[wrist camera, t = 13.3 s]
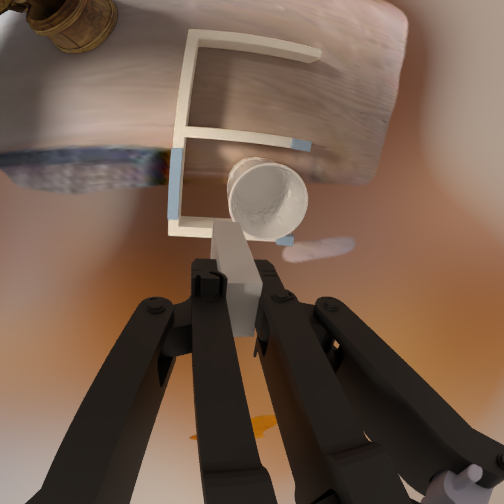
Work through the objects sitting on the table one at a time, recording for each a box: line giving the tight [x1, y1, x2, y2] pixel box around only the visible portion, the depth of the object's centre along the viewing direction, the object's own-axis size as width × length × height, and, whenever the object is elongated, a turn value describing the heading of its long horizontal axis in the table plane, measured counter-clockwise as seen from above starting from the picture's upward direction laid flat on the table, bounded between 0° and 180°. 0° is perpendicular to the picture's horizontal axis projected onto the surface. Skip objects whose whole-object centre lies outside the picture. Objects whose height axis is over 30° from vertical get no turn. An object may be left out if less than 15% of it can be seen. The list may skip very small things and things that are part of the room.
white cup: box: [227, 156, 308, 241], centre depth 32 cm, size 8×8×10 cm
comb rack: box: [168, 29, 322, 246], centre depth 31 cm, size 15×25×5 cm, turn 172°
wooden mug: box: [0, 0, 117, 54], centre depth 14 cm, size 9×14×18 cm, turn 63°
